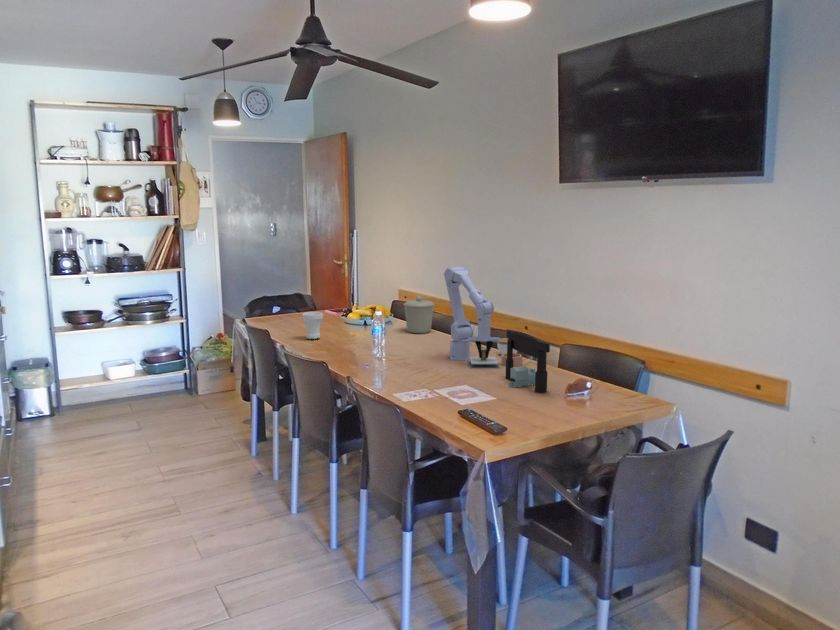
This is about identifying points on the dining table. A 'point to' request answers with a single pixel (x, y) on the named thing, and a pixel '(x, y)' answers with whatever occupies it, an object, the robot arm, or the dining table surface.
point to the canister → (419, 315)
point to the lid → (483, 359)
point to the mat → (482, 366)
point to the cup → (312, 324)
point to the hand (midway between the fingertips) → (483, 357)
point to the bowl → (516, 358)
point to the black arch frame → (531, 348)
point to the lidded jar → (503, 346)
